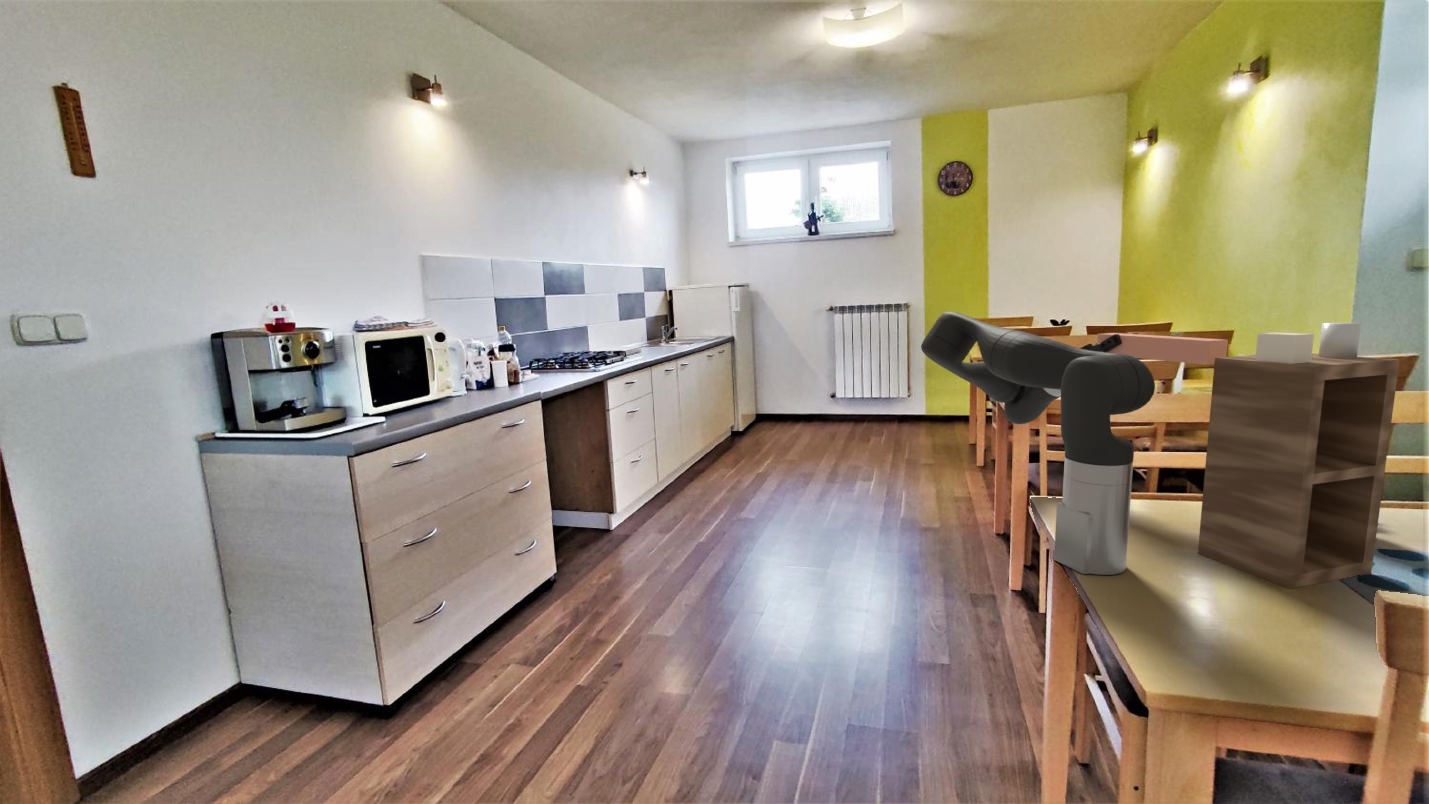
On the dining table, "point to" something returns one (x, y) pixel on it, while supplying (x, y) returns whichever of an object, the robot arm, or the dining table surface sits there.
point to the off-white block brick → (1284, 347)
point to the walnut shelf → (1296, 466)
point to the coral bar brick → (1169, 348)
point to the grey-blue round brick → (1339, 340)
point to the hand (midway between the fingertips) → (1128, 338)
